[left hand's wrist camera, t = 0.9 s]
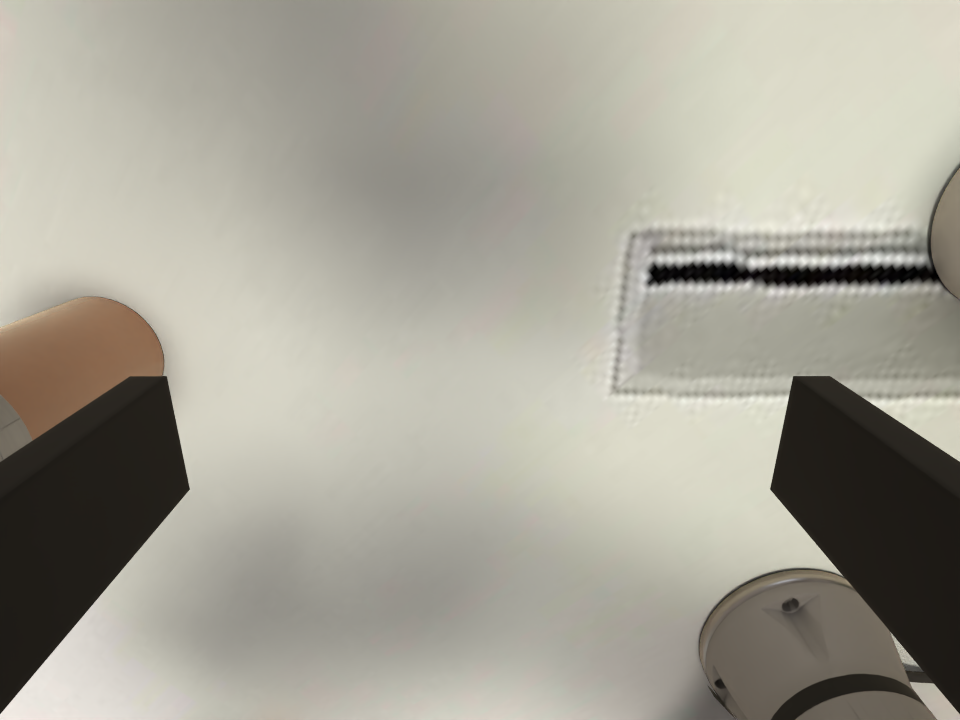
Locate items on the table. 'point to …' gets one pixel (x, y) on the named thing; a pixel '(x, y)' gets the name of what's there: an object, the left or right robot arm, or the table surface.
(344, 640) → the table surface
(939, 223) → the bust sculpture
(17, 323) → the jar
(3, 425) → the lid
